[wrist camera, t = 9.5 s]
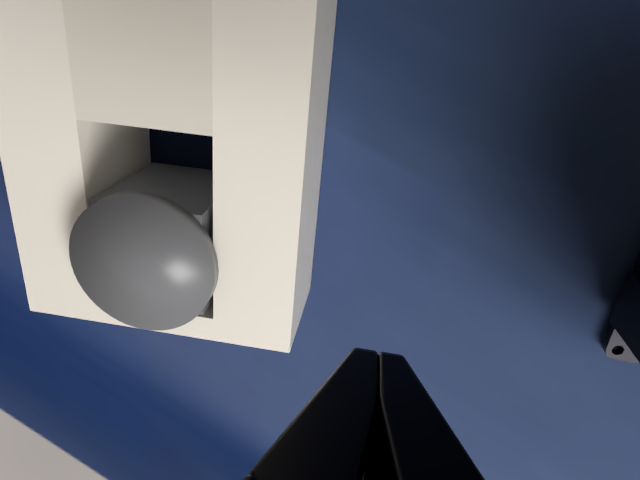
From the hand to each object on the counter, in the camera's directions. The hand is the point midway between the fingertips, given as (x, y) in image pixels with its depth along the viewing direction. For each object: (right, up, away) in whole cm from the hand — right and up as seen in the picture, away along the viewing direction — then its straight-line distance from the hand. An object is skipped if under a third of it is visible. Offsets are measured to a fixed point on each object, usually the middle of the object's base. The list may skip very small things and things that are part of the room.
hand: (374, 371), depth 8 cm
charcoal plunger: (-6, +4, +13) cm, 15 cm away
